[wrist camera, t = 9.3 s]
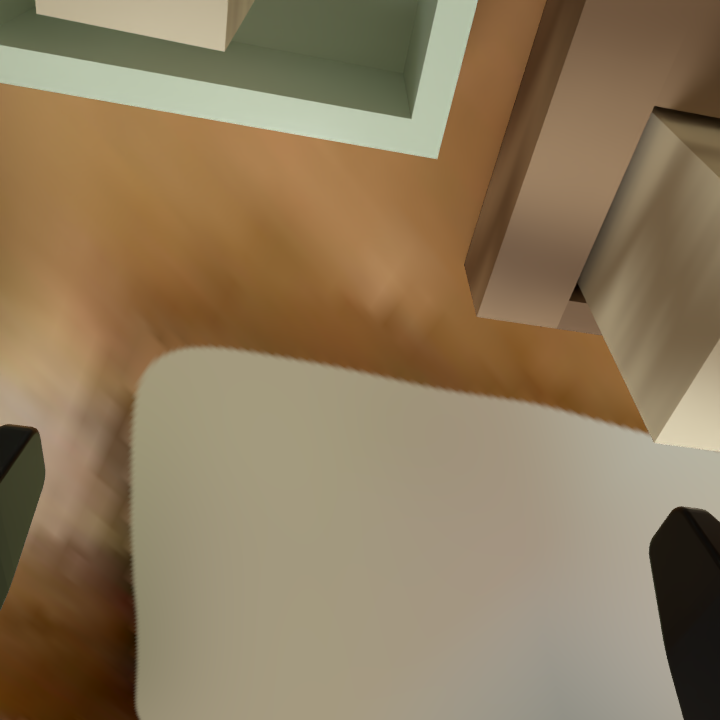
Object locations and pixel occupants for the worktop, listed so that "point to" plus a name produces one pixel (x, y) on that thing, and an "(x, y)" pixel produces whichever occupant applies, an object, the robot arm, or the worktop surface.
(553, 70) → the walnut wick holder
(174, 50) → the green open tray
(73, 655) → the worktop surface
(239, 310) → the worktop surface
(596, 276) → the block
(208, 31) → the block
